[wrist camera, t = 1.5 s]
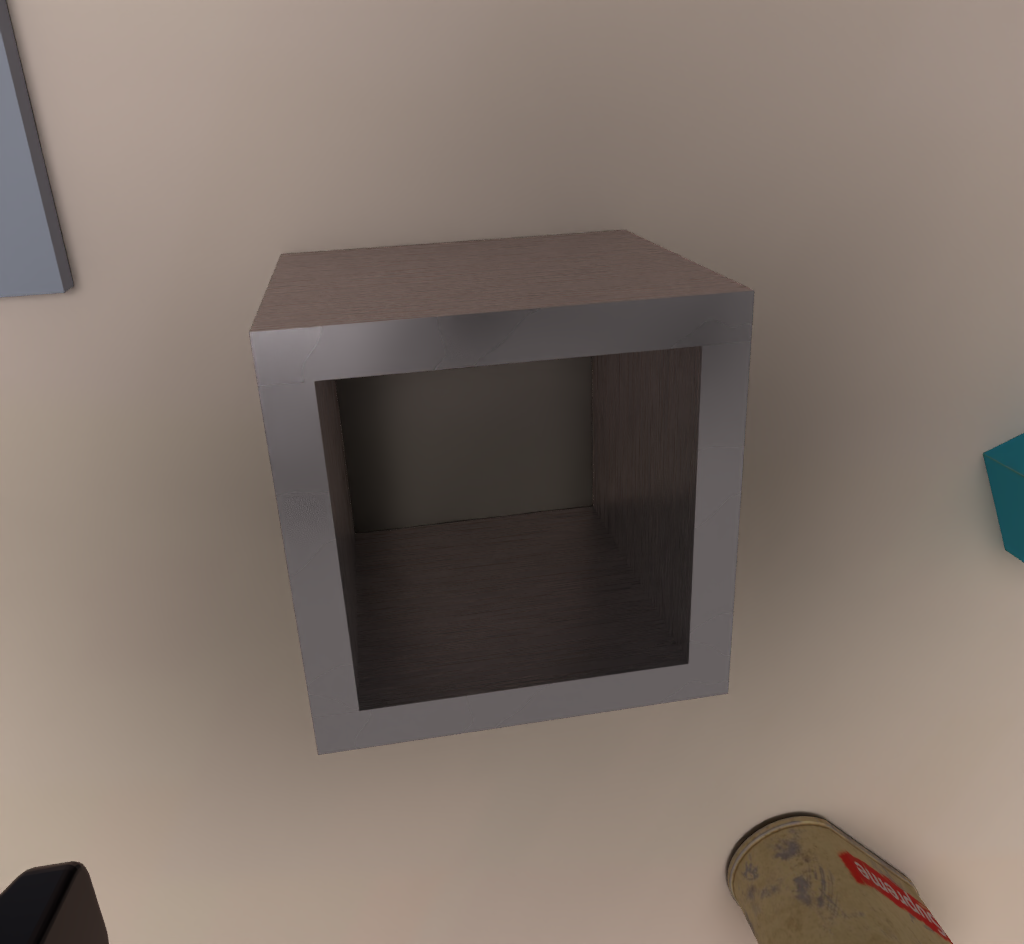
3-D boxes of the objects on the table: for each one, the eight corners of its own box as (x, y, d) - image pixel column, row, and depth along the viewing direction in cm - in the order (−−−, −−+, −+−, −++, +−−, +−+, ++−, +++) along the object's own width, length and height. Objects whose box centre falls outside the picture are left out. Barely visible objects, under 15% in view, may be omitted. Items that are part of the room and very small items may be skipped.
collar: (625, 230, 17) (753, 290, 12) (623, 530, 20) (727, 693, 14) (280, 254, 16) (248, 331, 11) (326, 566, 19) (318, 754, 14)
